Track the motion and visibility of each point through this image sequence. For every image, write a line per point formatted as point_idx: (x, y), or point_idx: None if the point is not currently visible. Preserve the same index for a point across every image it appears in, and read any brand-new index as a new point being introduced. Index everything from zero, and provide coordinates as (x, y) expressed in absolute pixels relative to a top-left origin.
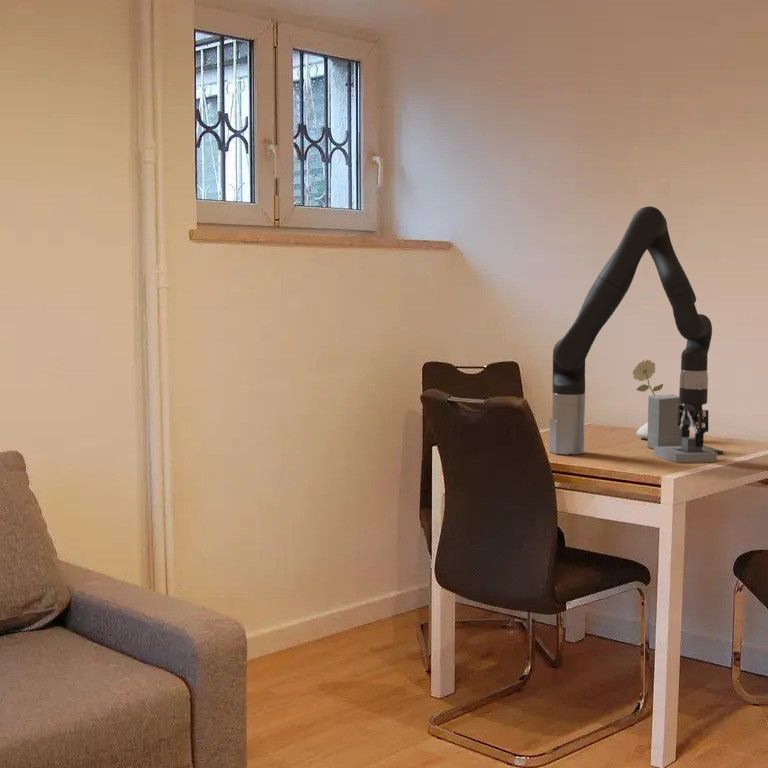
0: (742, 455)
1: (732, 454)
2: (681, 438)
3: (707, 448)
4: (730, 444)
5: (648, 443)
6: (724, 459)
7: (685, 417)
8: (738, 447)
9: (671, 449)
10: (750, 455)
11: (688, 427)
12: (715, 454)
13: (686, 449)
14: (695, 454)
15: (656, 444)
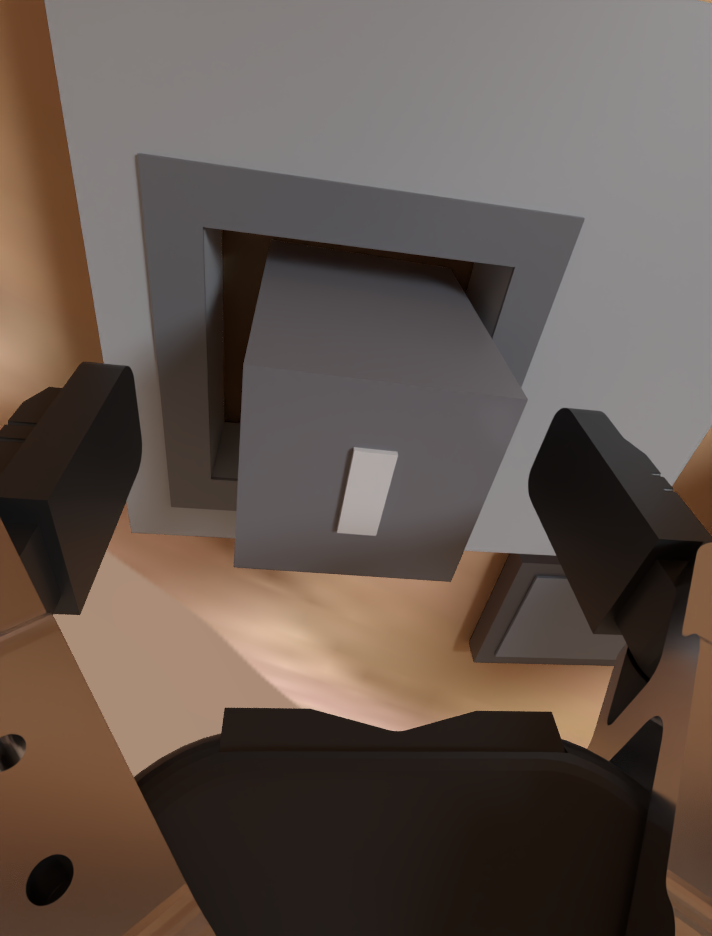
0: (388, 698)
1: (444, 676)
2: (606, 434)
3: (615, 635)
4: None
5: None
6: (267, 570)
7: (647, 862)
8: None
9: (555, 168)
10: (373, 722)
11: (624, 654)
12: (131, 509)
13: (301, 292)
14: (98, 294)
15: None
